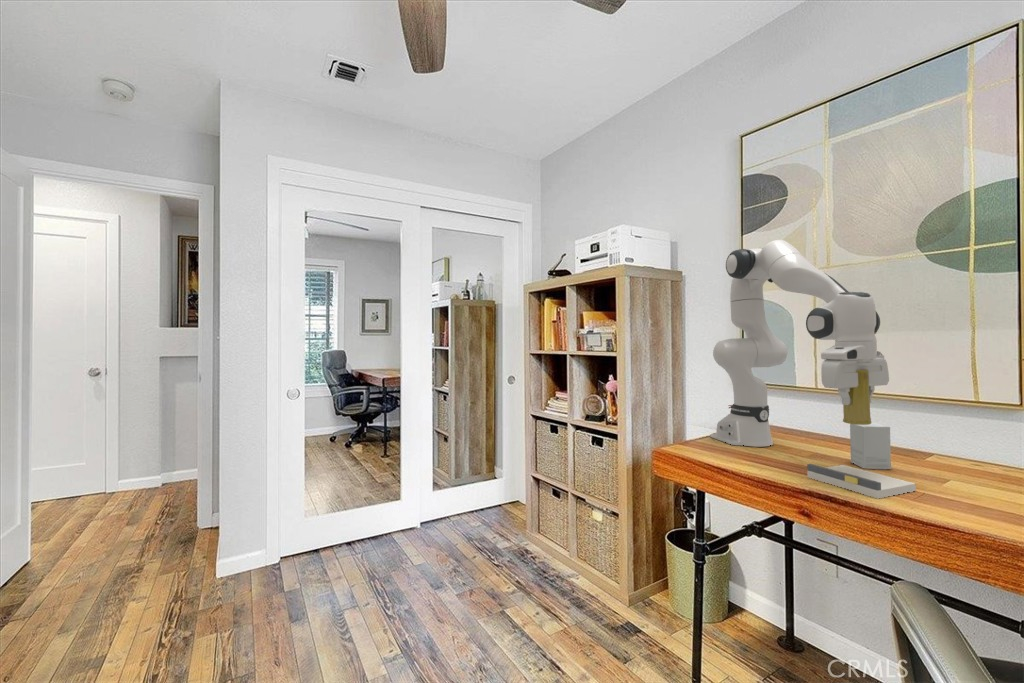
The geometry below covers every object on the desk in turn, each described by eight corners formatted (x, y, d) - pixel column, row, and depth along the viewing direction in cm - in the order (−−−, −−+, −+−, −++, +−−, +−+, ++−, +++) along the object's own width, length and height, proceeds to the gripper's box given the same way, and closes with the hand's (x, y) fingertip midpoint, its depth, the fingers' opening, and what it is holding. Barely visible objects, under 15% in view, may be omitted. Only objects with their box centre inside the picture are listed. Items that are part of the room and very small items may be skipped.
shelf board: (806, 477, 125) (806, 464, 125) (842, 471, 130) (842, 458, 130) (876, 499, 108) (876, 483, 108) (915, 491, 113) (915, 476, 113)
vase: (870, 421, 120) (868, 368, 120) (873, 425, 115) (872, 370, 115) (841, 420, 124) (840, 368, 124) (843, 423, 118) (842, 370, 118)
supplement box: (892, 470, 131) (891, 426, 130) (863, 469, 132) (862, 426, 132) (876, 463, 138) (876, 422, 138) (849, 462, 139) (849, 421, 139)
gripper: (870, 350, 125) (871, 400, 125) (815, 352, 119) (817, 404, 119) (895, 351, 119) (897, 402, 119) (839, 353, 113) (840, 407, 113)
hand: (856, 403), depth 119 cm, fingers closed on vase, 5 cm apart
